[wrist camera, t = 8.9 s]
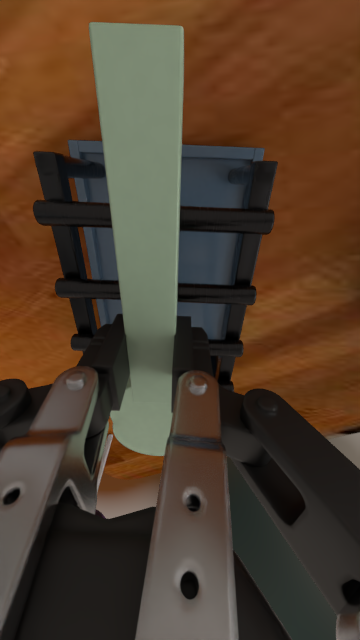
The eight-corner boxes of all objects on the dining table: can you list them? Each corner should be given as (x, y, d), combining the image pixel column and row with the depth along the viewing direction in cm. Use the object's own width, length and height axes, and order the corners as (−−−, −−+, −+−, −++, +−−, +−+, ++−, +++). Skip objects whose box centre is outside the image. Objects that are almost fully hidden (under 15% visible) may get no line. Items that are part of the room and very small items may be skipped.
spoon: (52, 60, 6) (3, 16, 5) (244, 68, 6) (266, 26, 5) (121, 439, 16) (114, 469, 14) (196, 441, 16) (198, 472, 14)
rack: (76, 142, 15) (-27, 107, 8) (258, 150, 15) (328, 122, 8) (109, 346, 24) (77, 418, 17) (223, 350, 24) (239, 424, 17)
